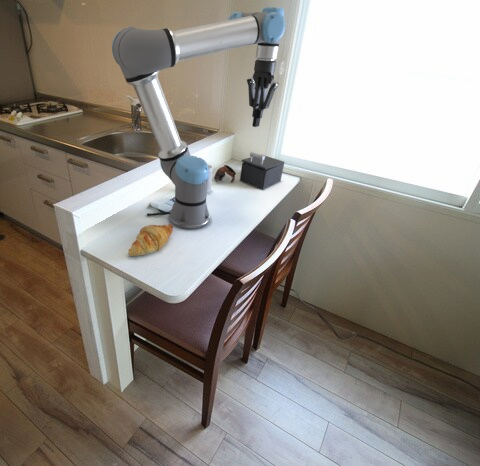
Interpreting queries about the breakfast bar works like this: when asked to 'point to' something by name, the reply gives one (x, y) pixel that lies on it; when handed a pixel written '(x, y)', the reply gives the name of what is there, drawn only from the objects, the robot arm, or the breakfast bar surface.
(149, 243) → the croissant
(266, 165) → the lid
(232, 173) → the broken terracotta ring
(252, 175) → the open cubby box
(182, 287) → the breakfast bar surface
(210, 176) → the beverage can
